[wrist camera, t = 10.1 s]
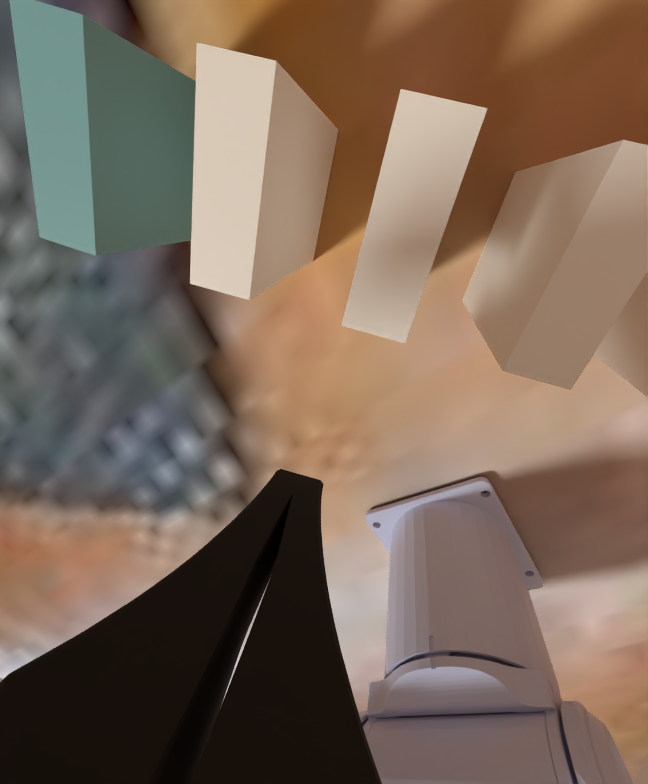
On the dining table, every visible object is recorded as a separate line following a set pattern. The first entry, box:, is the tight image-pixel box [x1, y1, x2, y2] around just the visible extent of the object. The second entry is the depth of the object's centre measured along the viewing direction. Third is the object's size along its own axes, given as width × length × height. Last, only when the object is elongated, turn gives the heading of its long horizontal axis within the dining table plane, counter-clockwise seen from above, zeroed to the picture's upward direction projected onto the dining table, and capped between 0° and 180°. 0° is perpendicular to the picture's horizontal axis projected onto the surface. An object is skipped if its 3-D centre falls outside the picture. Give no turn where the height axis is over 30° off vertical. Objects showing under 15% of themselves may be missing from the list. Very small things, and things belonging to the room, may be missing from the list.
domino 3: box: [342, 89, 487, 343], centre depth 12 cm, size 2×5×8 cm, turn 167°
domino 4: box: [462, 140, 648, 390], centre depth 12 cm, size 2×5×8 cm, turn 167°
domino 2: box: [190, 43, 338, 300], centre depth 12 cm, size 2×5×8 cm, turn 168°
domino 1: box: [10, 0, 196, 256], centre depth 13 cm, size 2×5×8 cm, turn 165°
